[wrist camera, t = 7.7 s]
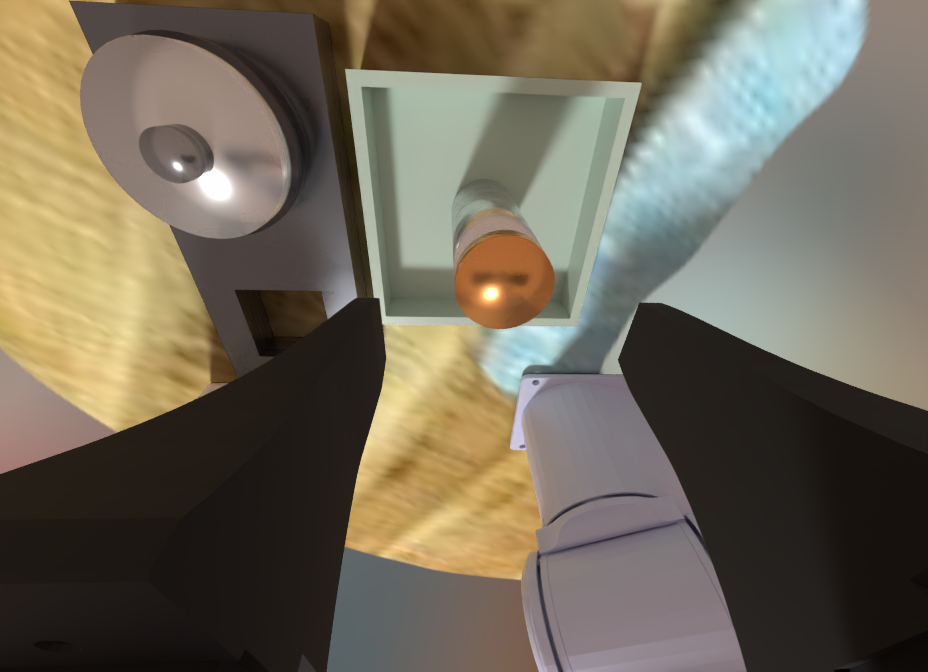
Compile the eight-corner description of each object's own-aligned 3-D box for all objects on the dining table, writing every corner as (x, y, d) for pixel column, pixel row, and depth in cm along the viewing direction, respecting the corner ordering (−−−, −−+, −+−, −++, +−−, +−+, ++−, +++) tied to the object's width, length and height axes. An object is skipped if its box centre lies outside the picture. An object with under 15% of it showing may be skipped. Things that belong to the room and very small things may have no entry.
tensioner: (328, 23, 14) (261, -15, 9) (375, 359, 24) (356, 430, 19) (115, 11, 13) (-79, -34, 8) (253, 358, 23) (200, 431, 18)
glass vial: (519, 182, 17) (565, 242, 10) (508, 245, 19) (543, 330, 12) (453, 177, 17) (458, 235, 10) (449, 241, 18) (451, 326, 12)
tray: (616, 83, 15) (642, 82, 13) (564, 303, 22) (577, 326, 19) (359, 72, 15) (345, 69, 13) (384, 301, 21) (377, 324, 19)
